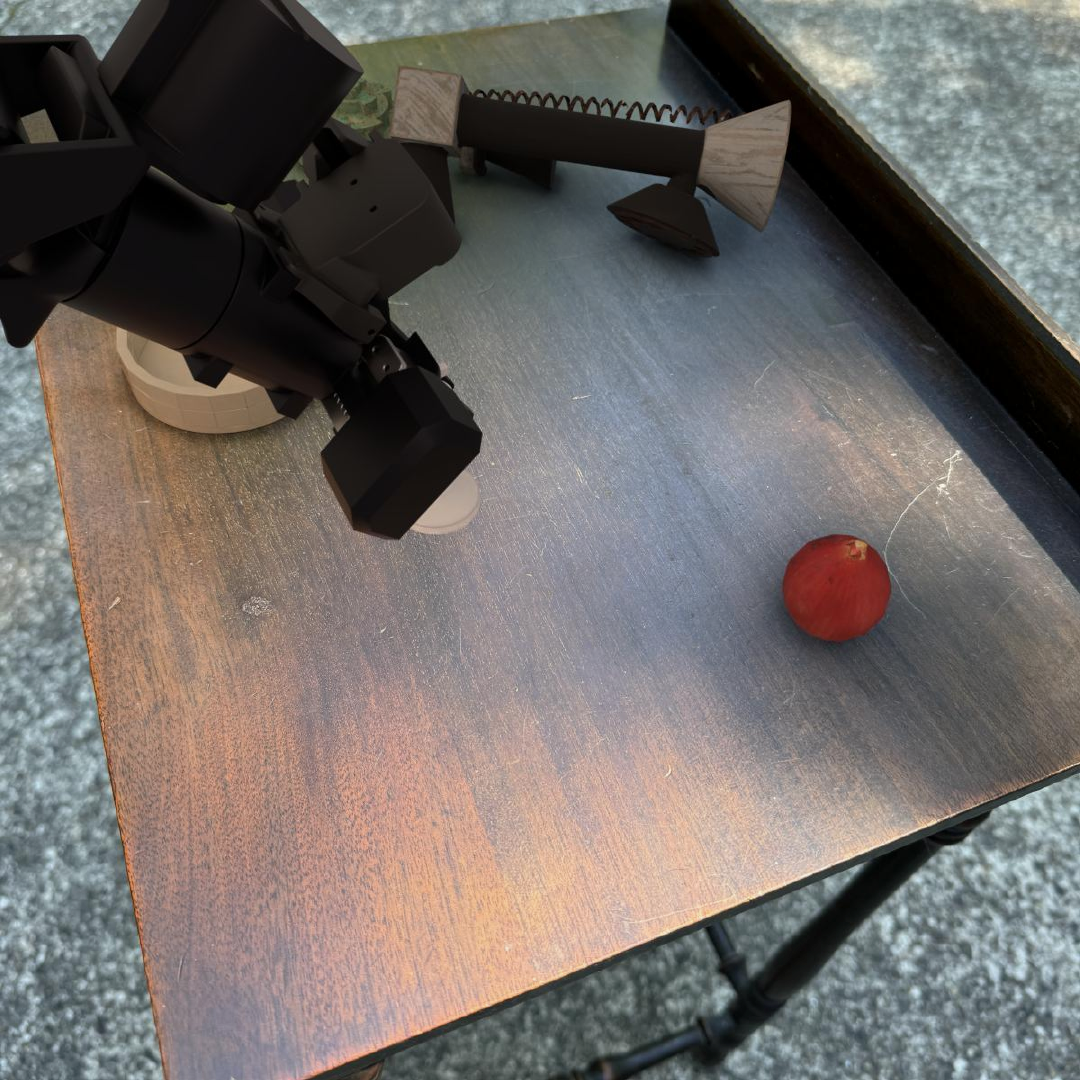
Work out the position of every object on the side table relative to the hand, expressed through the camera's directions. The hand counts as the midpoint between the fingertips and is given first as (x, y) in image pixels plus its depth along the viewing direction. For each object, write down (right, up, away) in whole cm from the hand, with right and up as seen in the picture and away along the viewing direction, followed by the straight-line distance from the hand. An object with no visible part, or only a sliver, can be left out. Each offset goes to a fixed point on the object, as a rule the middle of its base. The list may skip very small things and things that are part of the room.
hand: (457, 405), depth 51 cm
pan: (-17, +5, +20) cm, 27 cm away
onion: (+20, -12, +9) cm, 25 cm away
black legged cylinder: (+7, +19, +32) cm, 38 cm away
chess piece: (-2, -5, +5) cm, 7 cm away
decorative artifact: (-12, +27, +38) cm, 48 cm away
